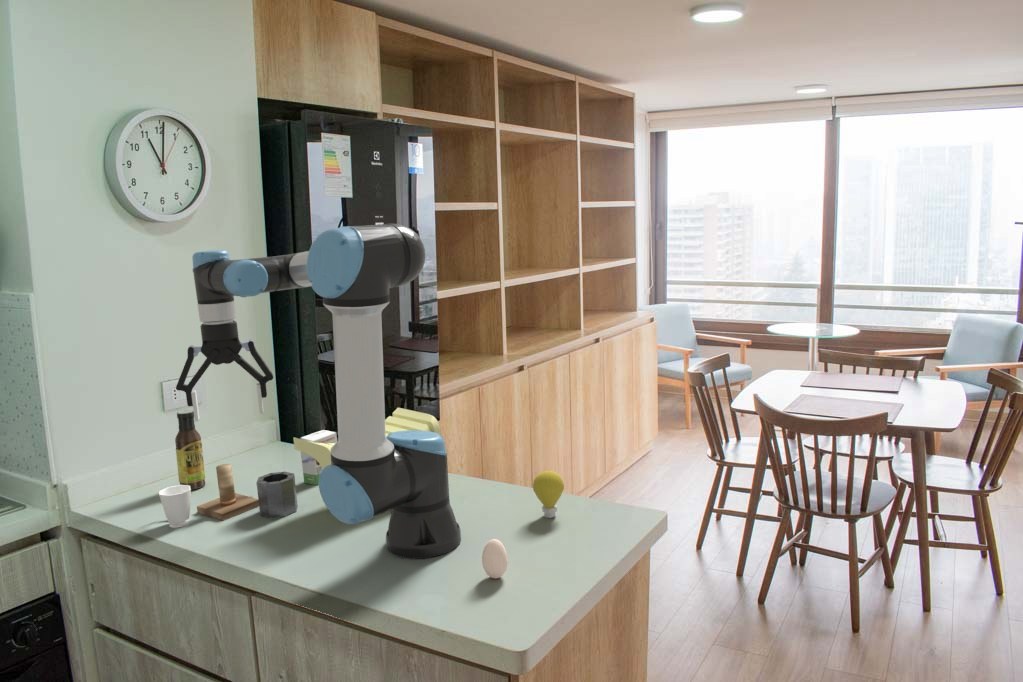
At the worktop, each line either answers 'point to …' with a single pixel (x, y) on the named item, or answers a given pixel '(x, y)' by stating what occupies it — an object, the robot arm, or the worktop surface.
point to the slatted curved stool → (398, 422)
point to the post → (227, 497)
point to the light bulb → (548, 491)
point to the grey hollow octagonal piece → (277, 494)
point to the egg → (494, 559)
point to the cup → (176, 504)
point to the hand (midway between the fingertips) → (229, 416)
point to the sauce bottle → (189, 452)
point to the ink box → (309, 463)
